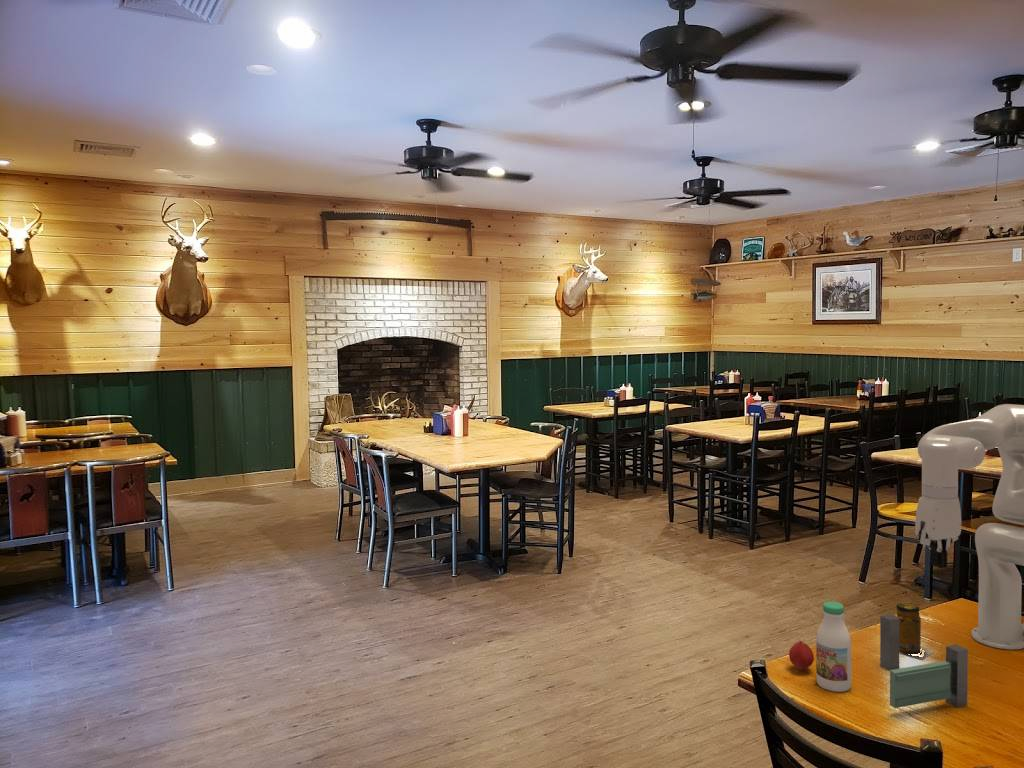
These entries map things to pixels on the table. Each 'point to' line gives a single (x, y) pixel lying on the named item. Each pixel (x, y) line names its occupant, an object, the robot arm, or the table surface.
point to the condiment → (910, 630)
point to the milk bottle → (833, 650)
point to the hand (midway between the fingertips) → (939, 566)
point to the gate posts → (953, 656)
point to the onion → (801, 655)
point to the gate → (920, 684)
